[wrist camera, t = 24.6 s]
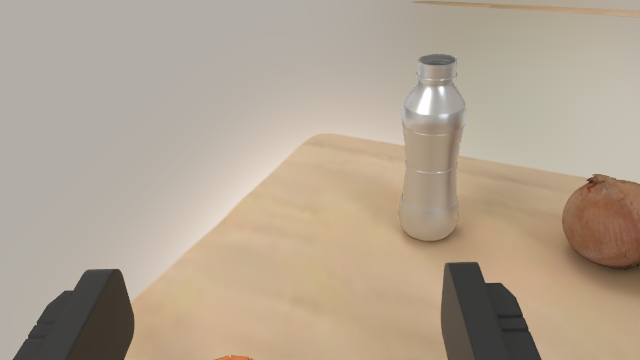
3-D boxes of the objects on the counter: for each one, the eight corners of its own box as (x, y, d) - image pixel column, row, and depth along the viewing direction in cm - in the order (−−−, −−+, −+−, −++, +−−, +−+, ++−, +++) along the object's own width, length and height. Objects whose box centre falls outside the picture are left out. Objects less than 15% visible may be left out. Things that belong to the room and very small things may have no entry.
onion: (562, 267, 62) (536, 182, 61) (644, 238, 62) (620, 153, 60) (606, 298, 53) (576, 199, 51) (703, 265, 52) (677, 164, 51)
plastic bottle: (469, 234, 63) (488, 60, 53) (424, 256, 60) (434, 76, 50) (430, 209, 68) (440, 45, 58) (385, 228, 65) (388, 59, 55)
